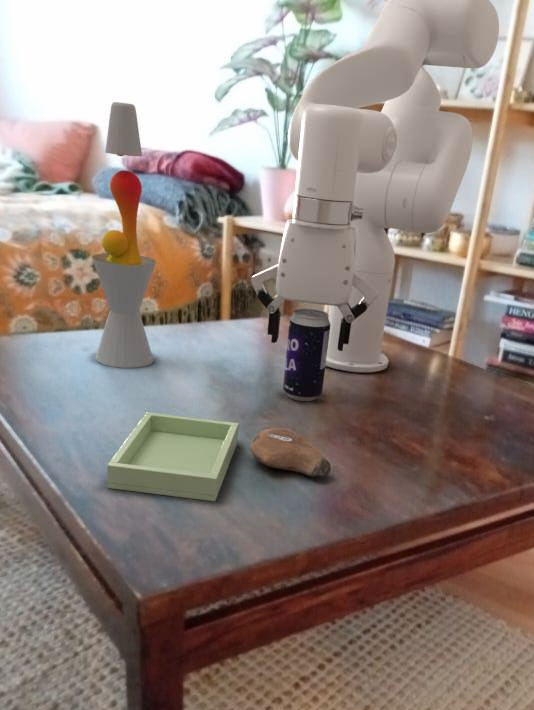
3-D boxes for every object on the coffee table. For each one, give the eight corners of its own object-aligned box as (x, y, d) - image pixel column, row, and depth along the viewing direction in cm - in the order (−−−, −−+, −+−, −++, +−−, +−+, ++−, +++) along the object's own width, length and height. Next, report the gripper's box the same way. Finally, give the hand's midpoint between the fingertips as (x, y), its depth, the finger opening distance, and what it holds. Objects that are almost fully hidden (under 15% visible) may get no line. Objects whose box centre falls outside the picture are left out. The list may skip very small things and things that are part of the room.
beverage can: (297, 386, 105) (306, 306, 100) (328, 396, 102) (339, 315, 97) (274, 394, 101) (282, 311, 95) (306, 405, 98) (316, 320, 93)
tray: (146, 432, 84) (146, 411, 83) (237, 443, 84) (238, 423, 83) (107, 488, 71) (107, 465, 70) (215, 501, 71) (216, 478, 70)
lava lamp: (132, 347, 114) (132, 104, 99) (166, 362, 109) (171, 108, 93) (82, 354, 108) (74, 97, 92) (115, 371, 103) (112, 101, 87)
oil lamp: (265, 493, 75) (333, 488, 78) (270, 462, 73) (340, 458, 76) (242, 449, 82) (305, 446, 85) (246, 419, 80) (311, 416, 83)
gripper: (387, 218, 94) (368, 345, 101) (258, 203, 94) (249, 330, 102) (390, 224, 87) (369, 359, 94) (251, 208, 87) (241, 344, 95)
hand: (307, 344), depth 98 cm, fingers open, 8 cm apart
